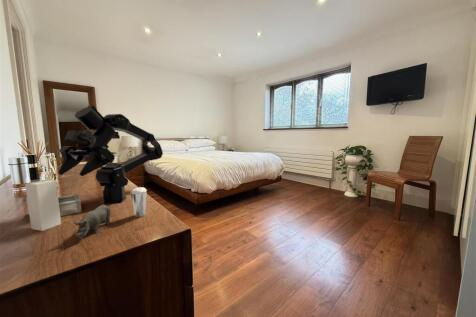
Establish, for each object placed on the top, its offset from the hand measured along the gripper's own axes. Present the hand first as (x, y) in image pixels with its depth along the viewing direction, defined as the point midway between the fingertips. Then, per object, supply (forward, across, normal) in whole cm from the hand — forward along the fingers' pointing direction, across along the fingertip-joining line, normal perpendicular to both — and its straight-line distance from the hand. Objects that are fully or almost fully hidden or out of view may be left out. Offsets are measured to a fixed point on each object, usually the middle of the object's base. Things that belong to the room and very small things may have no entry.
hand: (70, 174), depth 62 cm
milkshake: (+6, +20, +14) cm, 25 cm away
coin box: (+9, -8, +11) cm, 16 cm away
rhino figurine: (+14, +17, +5) cm, 23 cm away
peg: (+15, 0, +4) cm, 16 cm away
